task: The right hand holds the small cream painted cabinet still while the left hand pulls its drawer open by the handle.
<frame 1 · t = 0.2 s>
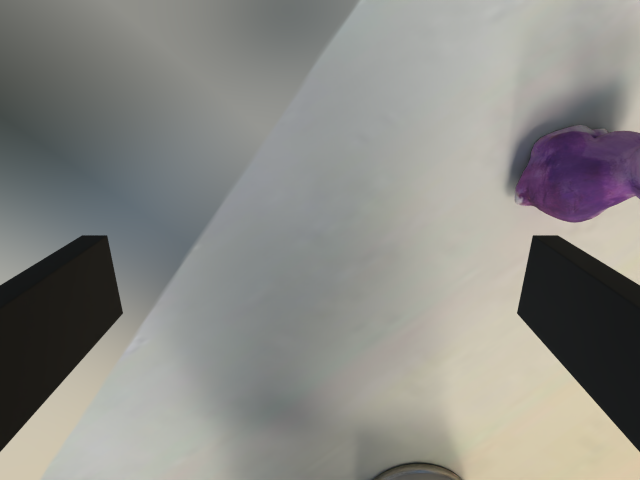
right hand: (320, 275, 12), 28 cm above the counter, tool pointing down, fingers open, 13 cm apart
figurine: (565, 161, 39), on the counter
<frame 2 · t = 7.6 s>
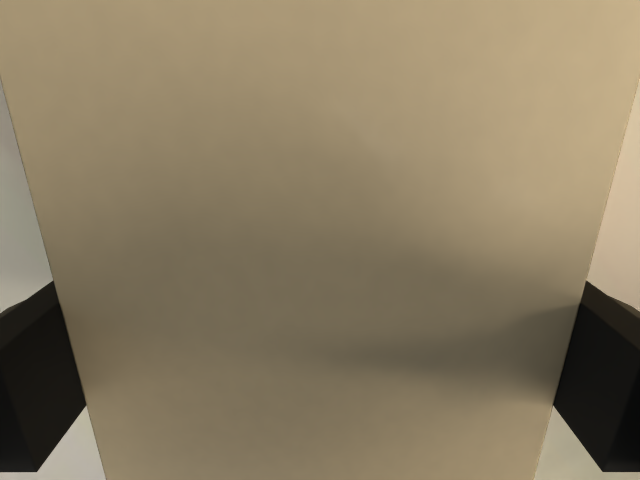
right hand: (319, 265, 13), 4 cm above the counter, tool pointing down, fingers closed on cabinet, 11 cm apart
cabinet: (320, 58, 15), on the counter, touching right hand
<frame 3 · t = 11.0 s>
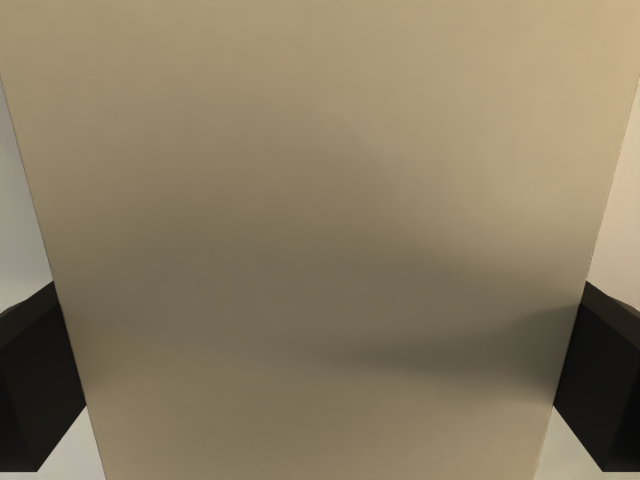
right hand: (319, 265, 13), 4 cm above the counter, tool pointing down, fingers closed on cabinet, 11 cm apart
cabinet: (320, 58, 15), on the counter, touching right hand
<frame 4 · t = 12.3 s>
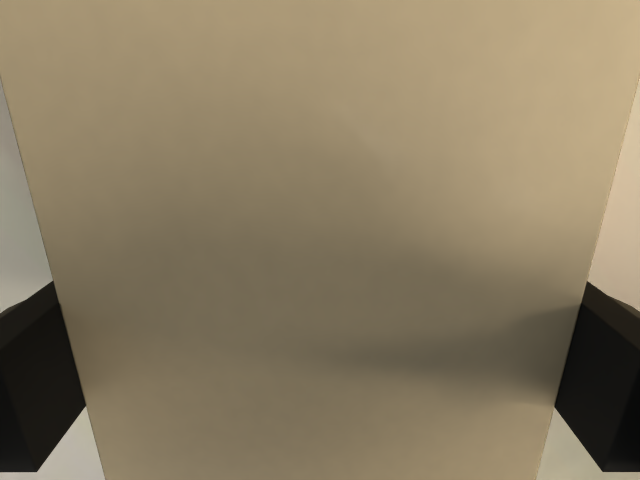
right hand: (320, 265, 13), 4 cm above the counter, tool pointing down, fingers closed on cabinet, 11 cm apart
cabinet: (320, 59, 15), on the counter, touching right hand
when the right hand's fingers open (4 cm above the counter, at t = 14.3 s): cabinet stays where it is, on the counter.
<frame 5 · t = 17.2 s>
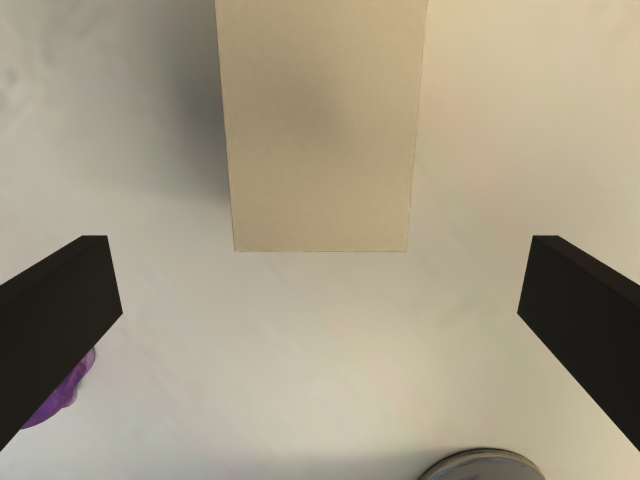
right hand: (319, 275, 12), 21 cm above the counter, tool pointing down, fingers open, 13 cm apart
cabinet: (320, 74, 29), on the counter
figurine: (45, 340, 38), on the counter
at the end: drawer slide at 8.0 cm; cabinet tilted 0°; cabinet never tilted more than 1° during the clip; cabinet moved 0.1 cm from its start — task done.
